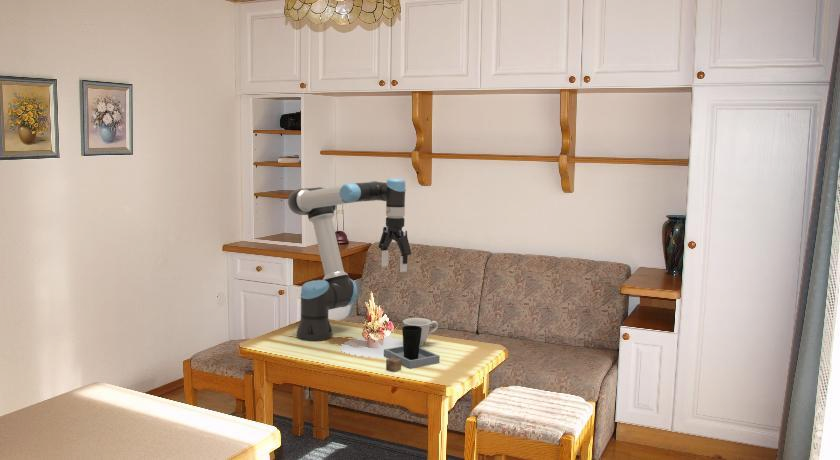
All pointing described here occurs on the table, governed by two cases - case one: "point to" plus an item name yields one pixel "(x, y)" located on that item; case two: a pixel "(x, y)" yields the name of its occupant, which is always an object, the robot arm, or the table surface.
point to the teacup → (423, 324)
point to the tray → (423, 359)
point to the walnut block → (393, 364)
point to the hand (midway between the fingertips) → (393, 268)
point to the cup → (411, 341)
